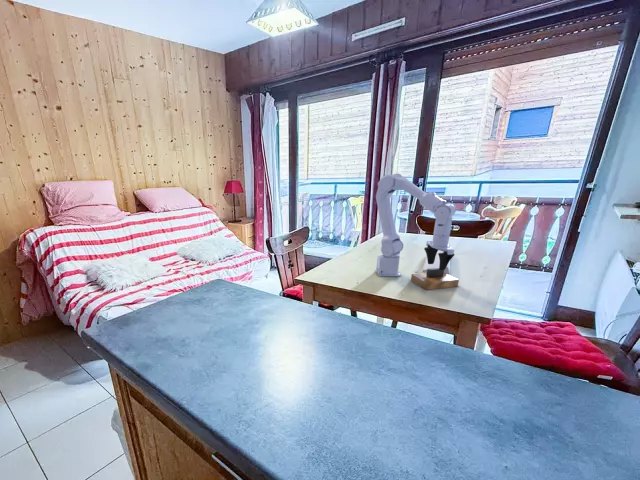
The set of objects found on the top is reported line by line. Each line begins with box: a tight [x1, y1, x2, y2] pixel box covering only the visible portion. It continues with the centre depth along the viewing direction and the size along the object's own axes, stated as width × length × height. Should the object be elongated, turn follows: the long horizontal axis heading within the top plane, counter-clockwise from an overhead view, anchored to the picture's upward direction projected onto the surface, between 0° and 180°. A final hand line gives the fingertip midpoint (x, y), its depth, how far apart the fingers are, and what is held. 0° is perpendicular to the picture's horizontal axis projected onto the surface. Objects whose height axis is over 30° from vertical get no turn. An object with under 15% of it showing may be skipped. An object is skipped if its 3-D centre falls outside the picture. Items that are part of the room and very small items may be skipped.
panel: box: [410, 272, 460, 291], centre depth 138 cm, size 14×11×3 cm
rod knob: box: [426, 268, 444, 278], centre depth 136 cm, size 6×2×4 cm, turn 97°
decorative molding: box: [422, 250, 451, 275], centre depth 159 cm, size 34×5×10 cm
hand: (436, 266), depth 135 cm, fingers open, 7 cm apart
